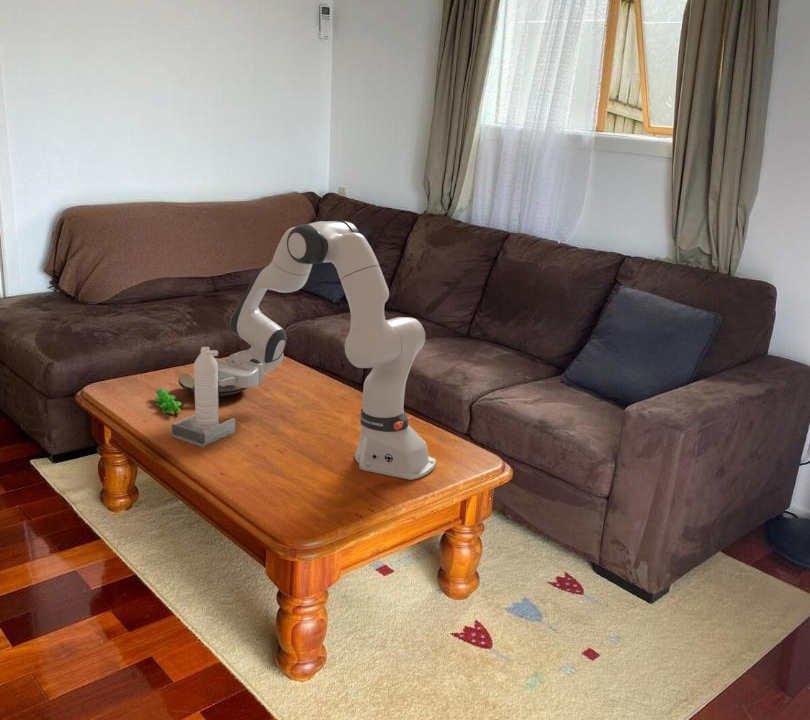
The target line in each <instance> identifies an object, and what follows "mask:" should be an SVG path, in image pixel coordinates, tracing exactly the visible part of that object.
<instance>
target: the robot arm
mask: <svg viewBox="0 0 810 720" xmlns="http://www.w3.org/2000/svg"><path fill="white" fill-rule="evenodd" d="M323 263H325V264H326V263H331V264H333V266H334V268H335V269H336V271H337V274H338V278H339V280H340V282H341V286H342V288H343V291H344V294H345V297H346V300H347V302H348V303H347V304H348V307H349V310H350V311H349V312H350V329H349V333H348V335H347V337H346V339H345V341H344V352H345V356H346V358H347V360H348V361H349V362H350V364H351V365H352V366H354V367H356V368H357V369H371V368H372V369H371V371H370V373H369V374H368V375H367V376H366V378H365V380H364V382H363V390H362V408H361V409H360V419H359V420H360V421H359V422H360V425H361V427H360V434H359V440H358V445H357V449H356V451H355V454H354V460H355V461H356V463H358V468H359V469H360V470H362V471H366V472H370V473H375V474H380V475H385V476H390V477H393V478H394V477H396V478H400V479H405V480H416V479H419V478H423V477H425V476H426V475H428V474H429V473H431V472H432V471H433V470H434V469H435V468H436V465H437V460H436V459H435V458H434V457H431V456H430V455H429V449H428V444H427V442H426V441H425V440H424V439H423V438H422V437H421V436H420V435H419V434H418V433H417V432H416V431H415V430H414V428H412V427H411V426H410V425H409V422H410V420H412V414H411V415H409V416H407V415H406V411H405V410H404V405H405V404H404V403H405V393H406V385H407V380H408V377H409V373H410V370H411V367H412V365H413V363H414V360H415V358H416V357H417V355H418V353H419V352H420V350H421V349H422V348H423V347H424V345H425V343H426V331H425V329H424V327H423V325H422V323H421V322H420V321H419V320H418V319H416V318H413V317H407V316H406V317H404V316H403V317H402V316H397V317H394V318H390V319H386V316H385V304H386V303H387V301H388V300H389V297H390V291H389V287H388V285H387V282H386V279H385V276H384V274H383V271H382V269H381V266H380V264H379V261H378V259H377V256H376V253H375V252H374V251H373V248H372V246H371V245H370V244H369V242H368V240H367V239H366V237H365V236H364V235H363V234H362V233H360V232H359V229H358V228H357V227H356V226H355V224H354V223H352V222H349V221H346V220H335V221H334V220H333V221H332V220H331V221H323V220H322V221H321V220H320V221H314V222H311V223H305V224H304V223H302V224H299V225H298V226H293V227H290V228H289V229H287V230H286V231H285V232H284V234H283V235H282V237H281V239H280V241H279V243H278V245H277V246H276V250H275V252H274V255H273V257H272V260H271V262H270V263H269V264H264V265H263V266H261V267H260V268H259V269H258V271H257V272H256V273H255V275H254V276H253V278H252V280H251V281H250V283H249V285H248V287H247V289H246V291H245V293H244V295H243V297H242V298H241V301H240V302H239V303H238V305H237V306H236V308H235V309H234V311H233V312H232V313H231V315H230V318H229V327H230V328H229V329H230V331H231V332H232V334H234V335H235V336H237V337H238V338H240V339H242V340H243V341H245V342H246V343H248V344H249V345H250V348H248V349H244V350H241V351H238V352H235V353H232V354H230V355H229V356H228V357H227V359H226V360H224V359H220V358H217V357H216V358H215V357H214V358H215V360H216V361H217V364H218V380H219V385H220V386H223V387H224V386H226V385H236V386H240V387H243V388H247V389H249V388H252V387H255V386H259V385H261V384H263V383H264V375H265V374H267V373H268V372H271V371H272V370H274V369H276V368H277V367H279V365H280V364H282V362H283V359H284V352H285V350H286V347H287V343H288V341H287V340H288V339H287V338H288V337H287V332H286V330H285V329H284V328H283V327H281V326H280V325H278V323H276V322H275V321H273V320H272V319H270V318H269V317H268V316H266V315H265V314H264V313H262V311H261V310H260V308H259V305H260V303H261V301H262V300H263V298H264V296H265V294H266V292H267V291H268V290H271V291H274V292H278V293H285V294H287V293H294V292H296V291H299V290H300V289H302V288H303V287H304V286H305V284H306V283H307V281H308V279H309V276H310V273H311V270H312V267H313V265H315V264H323Z"/></svg>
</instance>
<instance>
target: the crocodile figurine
mask: <svg viewBox="0 0 810 720" xmlns="http://www.w3.org/2000/svg"><path fill="white" fill-rule="evenodd" d="M155 393H156V394H157V396H156V397H155V398H154V402H155V403H156V404H155V405H158V406H157V407H159V406H160V408H161V412H162V413H163V412H165V414H166V412H167V414H170V415H175V412H177V414H181V408H180V407H181V406H182V405H183V404H182V402H181V401H175V400H176V399H177V396H175V395H172V394H169V392H168V391H167V389H165V388H162V387H161V388H158V389H156V390H155Z"/></svg>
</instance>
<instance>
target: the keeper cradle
mask: <svg viewBox="0 0 810 720" xmlns="http://www.w3.org/2000/svg"><path fill="white" fill-rule="evenodd" d="M195 417H196V415H195V413H194V414H192V415H189V416H186V417H185V418H182V419H180V420H177V421H175V422H173V423H171V437H172V438H173V437H174V439H176V438H177V439H176V440H179V439H180V441H182V440H184V441H183V442H185V441H186V443H188V442H189V443H188V444H191V445H194V444H195V445H194V446H197V445H198V447H200V448H204V447H206V446H208V445H211V444H212V443H214V442H216V441H219V440H221V439H223V438H225V437H228V436H229V435H232V434H234V433H236V418H234V417H232V418H230V419H228V420H225V421H223V422H221V423H219V425H216V426H214V427H212V428H210V429H207V430H205V431H203V432H201V431H197V430H196V420H195Z"/></svg>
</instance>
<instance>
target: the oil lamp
mask: <svg viewBox="0 0 810 720" xmlns="http://www.w3.org/2000/svg"><path fill="white" fill-rule="evenodd" d="M178 385H179V386H180V387H181V388H182V389H183V391H188V392H191V393H194V394H195V380H194V377H192V376H191V375H190V374H189V373H184V374H182V375H181V376H179V378H178ZM247 389H248V388H243V387H240V386H236V385H226V386H224V387H223V386H220V385H219V380H218V398H219V397H227V396H231V395H235V394H238V393H240V392H242V391H246V390H247Z"/></svg>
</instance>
